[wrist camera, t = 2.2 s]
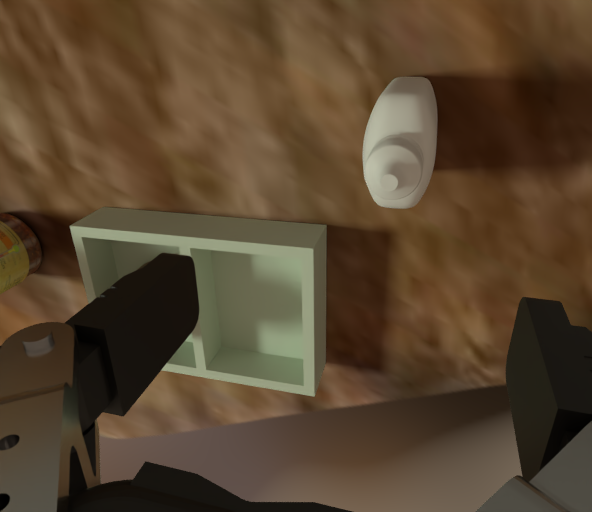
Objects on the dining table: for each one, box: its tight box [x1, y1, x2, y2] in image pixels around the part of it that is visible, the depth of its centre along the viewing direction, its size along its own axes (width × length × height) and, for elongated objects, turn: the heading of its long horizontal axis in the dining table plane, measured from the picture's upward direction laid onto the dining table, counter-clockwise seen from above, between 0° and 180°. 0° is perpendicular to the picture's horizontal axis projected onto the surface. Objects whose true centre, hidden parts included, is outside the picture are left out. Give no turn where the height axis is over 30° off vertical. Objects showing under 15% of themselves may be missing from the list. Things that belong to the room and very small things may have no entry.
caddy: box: [70, 207, 327, 397], centre depth 33 cm, size 12×18×12 cm, turn 91°
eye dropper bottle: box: [363, 77, 438, 208], centre depth 24 cm, size 4×6×12 cm
